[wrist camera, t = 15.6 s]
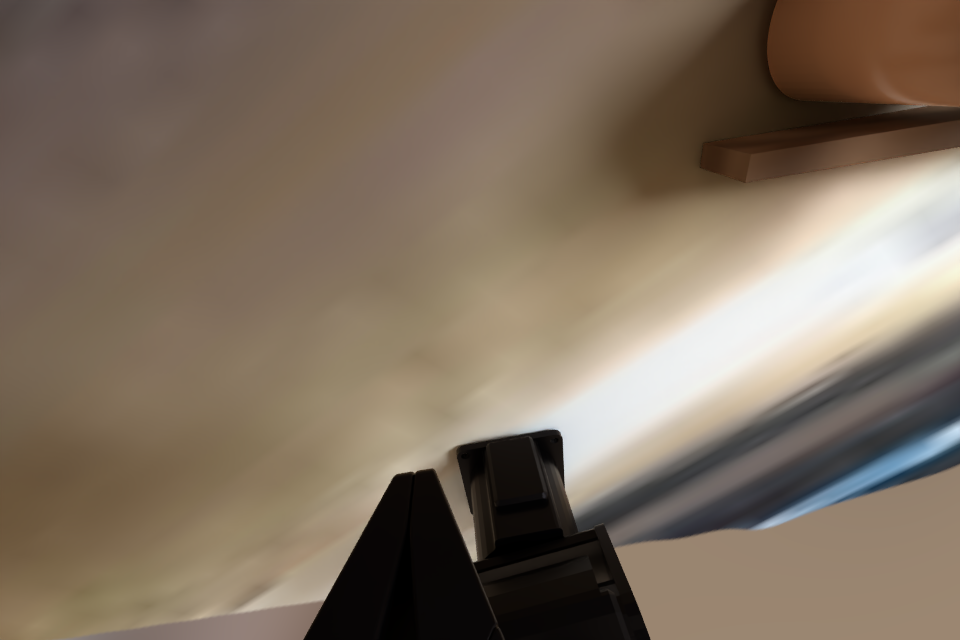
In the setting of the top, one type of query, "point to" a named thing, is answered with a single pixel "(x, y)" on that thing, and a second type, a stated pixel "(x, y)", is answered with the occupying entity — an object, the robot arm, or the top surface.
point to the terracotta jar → (867, 51)
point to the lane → (834, 144)
